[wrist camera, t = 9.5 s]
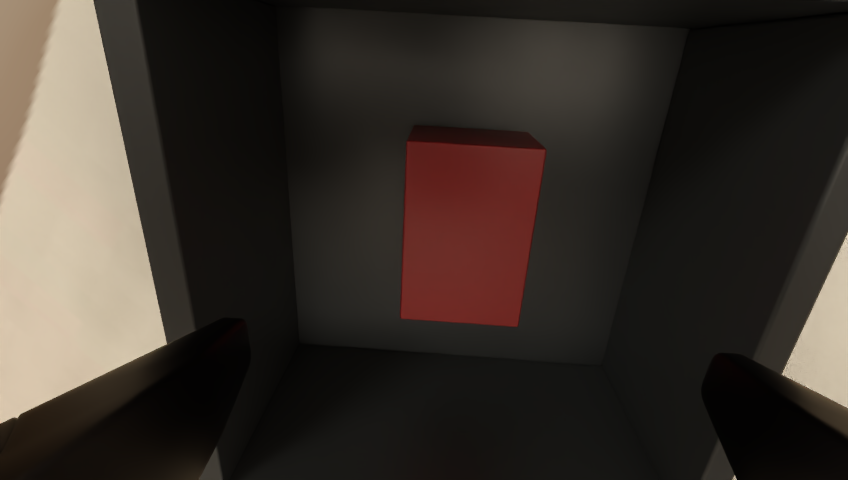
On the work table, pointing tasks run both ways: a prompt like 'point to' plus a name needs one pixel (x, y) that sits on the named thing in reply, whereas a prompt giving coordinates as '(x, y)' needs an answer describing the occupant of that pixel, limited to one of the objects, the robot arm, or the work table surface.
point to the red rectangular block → (468, 223)
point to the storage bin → (553, 233)
